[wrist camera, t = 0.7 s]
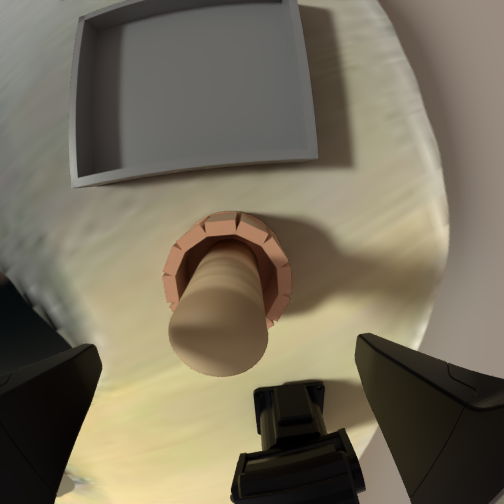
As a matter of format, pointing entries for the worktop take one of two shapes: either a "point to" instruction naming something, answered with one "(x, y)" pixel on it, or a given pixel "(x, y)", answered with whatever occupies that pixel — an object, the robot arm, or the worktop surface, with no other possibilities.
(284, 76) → the tray
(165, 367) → the worktop surface
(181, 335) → the dowel
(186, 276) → the pink short hollow cylinder
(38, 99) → the worktop surface
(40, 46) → the worktop surface
